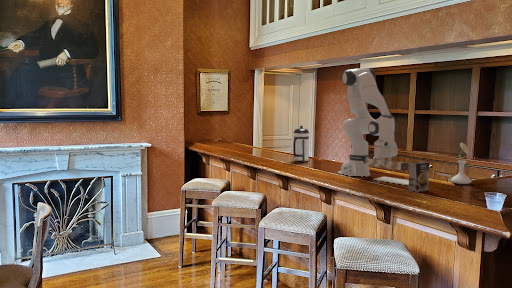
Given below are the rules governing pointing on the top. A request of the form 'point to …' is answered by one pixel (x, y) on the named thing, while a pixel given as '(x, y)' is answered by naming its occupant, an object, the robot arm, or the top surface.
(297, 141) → the coffee press
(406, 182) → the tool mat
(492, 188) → the top surface
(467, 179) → the flower in vase
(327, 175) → the top surface
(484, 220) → the top surface
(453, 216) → the top surface
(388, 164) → the mottled brown bar
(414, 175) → the coffee box
